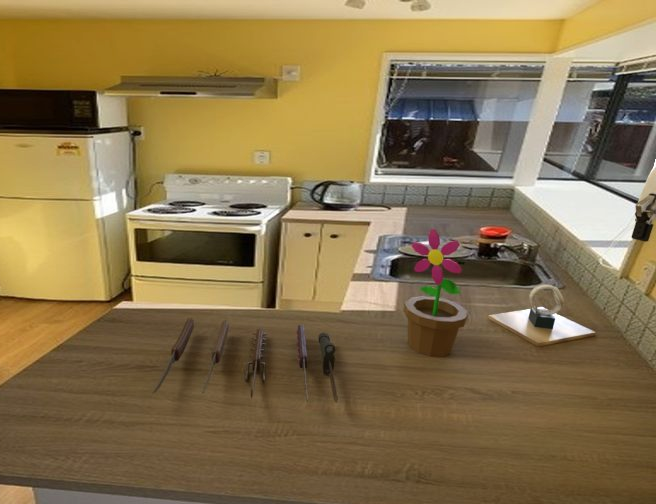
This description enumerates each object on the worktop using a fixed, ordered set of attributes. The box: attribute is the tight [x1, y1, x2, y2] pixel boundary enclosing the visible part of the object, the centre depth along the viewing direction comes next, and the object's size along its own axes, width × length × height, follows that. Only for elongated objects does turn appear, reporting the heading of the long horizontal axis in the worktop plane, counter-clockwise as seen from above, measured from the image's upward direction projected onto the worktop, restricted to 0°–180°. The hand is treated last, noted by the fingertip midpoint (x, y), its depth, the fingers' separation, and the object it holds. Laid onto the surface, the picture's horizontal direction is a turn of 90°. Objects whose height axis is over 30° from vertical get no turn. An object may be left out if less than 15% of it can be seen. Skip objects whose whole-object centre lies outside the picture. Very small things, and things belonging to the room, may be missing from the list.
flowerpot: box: [403, 228, 469, 358], centre depth 100 cm, size 14×14×30 cm
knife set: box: [151, 317, 339, 404], centre depth 90 cm, size 35×33×8 cm
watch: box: [528, 283, 566, 329], centre depth 113 cm, size 6×8×11 cm
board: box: [487, 306, 597, 347], centre depth 115 cm, size 20×16×1 cm
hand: (653, 238), depth 97 cm, fingers open, 9 cm apart
